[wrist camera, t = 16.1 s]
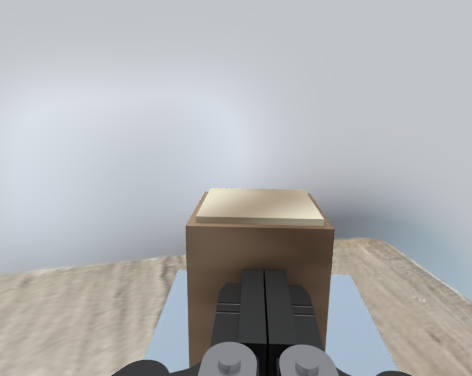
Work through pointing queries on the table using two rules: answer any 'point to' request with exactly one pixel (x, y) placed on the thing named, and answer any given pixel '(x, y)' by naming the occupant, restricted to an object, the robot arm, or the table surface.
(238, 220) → the walnut block
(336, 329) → the mat
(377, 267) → the table surface
